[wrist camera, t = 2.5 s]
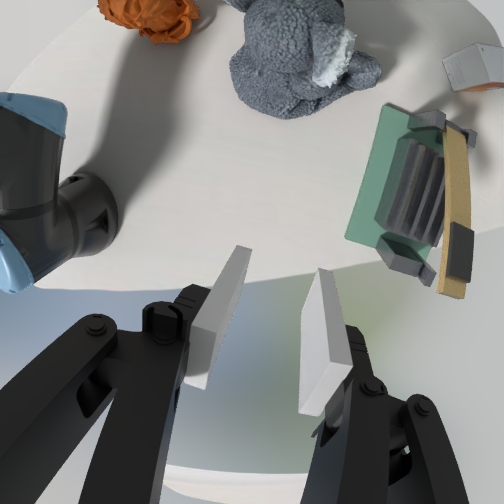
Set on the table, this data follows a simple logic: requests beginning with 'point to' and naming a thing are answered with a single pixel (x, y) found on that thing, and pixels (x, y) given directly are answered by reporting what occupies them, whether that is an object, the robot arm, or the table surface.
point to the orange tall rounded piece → (153, 17)
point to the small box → (476, 68)
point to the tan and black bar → (456, 215)
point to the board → (384, 180)
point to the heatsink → (415, 198)
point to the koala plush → (297, 57)
